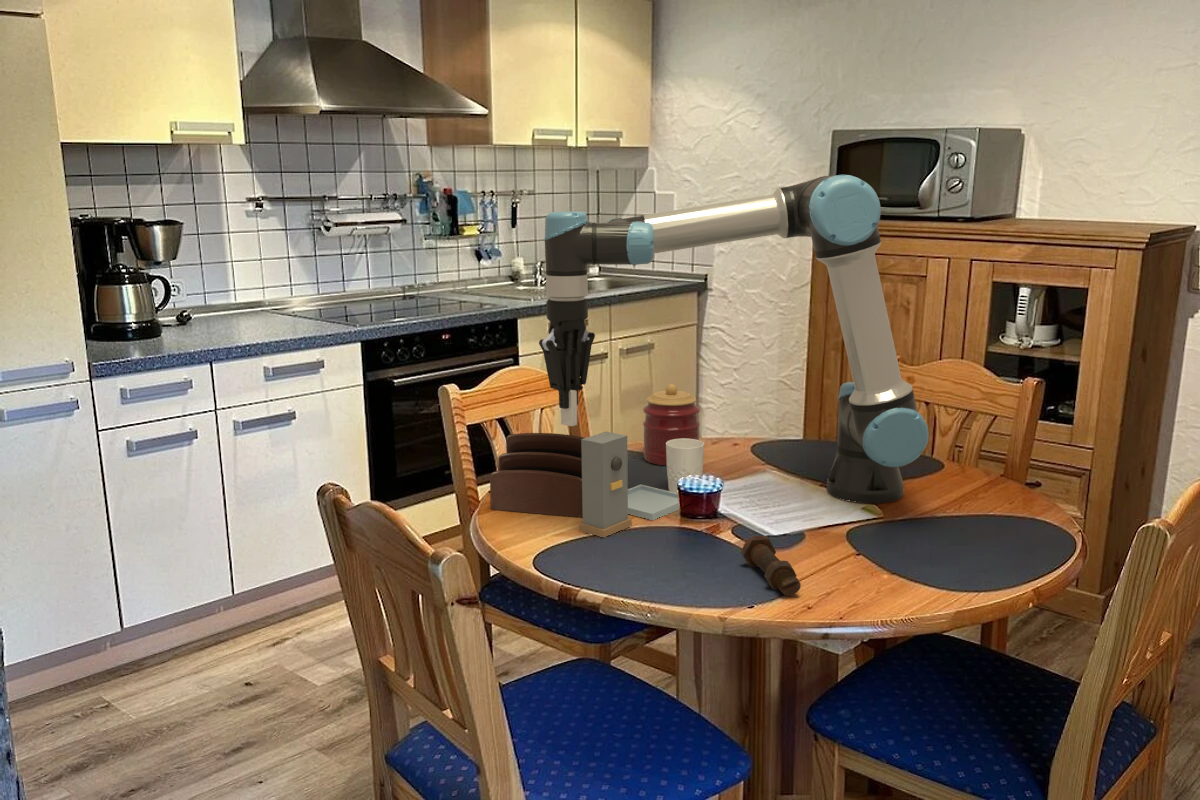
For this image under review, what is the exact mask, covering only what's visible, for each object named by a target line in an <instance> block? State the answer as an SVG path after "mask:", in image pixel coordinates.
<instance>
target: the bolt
mask: <svg viewBox="0 0 1200 800" xmlns="http://www.w3.org/2000/svg"><path fill="white" fill-rule="evenodd" d="M776 553H777V551H776V548H775V547H774V546H773V544H772V541H771V540H770V539H769V537H768V536H767V535H754V536H750V537H749V538H747V540H746V542H744V544H743V547H742V548H741V550H740V554H741V555H742V557H743V560H744V561H745V562H746V564H747V565H748V566H749V568H754V567H755V568H756V567H759V568H760V570H761V571H762V573H764V578H765V579H766V581H767V583H768V585H769V586H770V588H771V589H772V590H774V591H780V592H781V593H782V594H783V595H784V596H789V597H790V596H794V595H796V594H797V593H798V592H799V591H800V589H801V582H800V581H799V579H798V578H797V573H796V571H795V569H794V568H793V566H792V565H791V563H790V562H789V561H788V560H780V559H779V558H778V557H777V556H776V555H775V554H776Z"/></svg>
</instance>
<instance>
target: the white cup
mask: <svg viewBox="0 0 1200 800" xmlns="http://www.w3.org/2000/svg"><path fill="white" fill-rule="evenodd" d="M704 452H705V442H704V441H703V440H700V439H699V440H696V439H687V438H682V439H673V440H669V441H667V442H666V460H667V466H666V474H667V484H668V485H667V486H668V487H667V488H668V491H671V492H675V493H677V482H678V480H679V479H680V478H682V477H684V476H689V475H702V476H703V468H704V457H705V456H704V454H705V453H704Z"/></svg>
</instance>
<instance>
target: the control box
mask: <svg viewBox="0 0 1200 800" xmlns="http://www.w3.org/2000/svg"><path fill="white" fill-rule="evenodd" d="M581 447H582V506H583V518H582V522H580V523H578V531H579V532H580V533H583V532H584V533H583V534H587V533H588V534H587V535H590V534H592V535H591V536H593V535H597V536H600V537H606V536H608V535H611V534H613V533H616V532H618V531H620V530H623V529H625V528H627V527H630V526H632V527H633V520H632V518H629V515H628V489H629V488H628V480H629V479H628V477H629V476H628V475H629V474H628V473H629V472H628V471H629V469H628V468H629V467H628V465H629V464H628V463H629V462H628V435H626V434H620V433H615V432H611V431H604V432H601V433H598V434H594V435H591V436H587V437H584V439H581ZM630 528H631V527H630ZM627 529H628V528H627ZM625 530H626V529H625ZM623 531H624V530H623ZM620 532H621V531H620ZM618 533H619V532H618ZM616 534H617V533H616ZM613 535H614V534H613ZM597 536H596V537H597ZM611 536H612V535H611ZM600 537H599V538H600ZM606 538H607V537H606Z"/></svg>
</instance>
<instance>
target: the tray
mask: <svg viewBox="0 0 1200 800" xmlns="http://www.w3.org/2000/svg"><path fill="white" fill-rule="evenodd" d="M678 510H680V509H679V501H678V493H675V492H671V491H669V490H666V489H661V488H657V487H652V486H649V485H646V484H645V485H644V484H638V485H636V486H634V487H631V488H628V514H631V515H630V516H632V515H635V516H638V517H637V518H639V517H643V518H646V519H645V520H647V519H649V520H648V521H651V520H654V521H656V520H657V518H658V519H660V518H663V517H665V516H667V515H669V513H670V514H672V513H674V512H676V511H678ZM664 515H665V516H664ZM635 516H634V517H635ZM662 516H663V517H662ZM659 517H660V518H659ZM643 518H642V519H643ZM655 519H656V520H655Z"/></svg>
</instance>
